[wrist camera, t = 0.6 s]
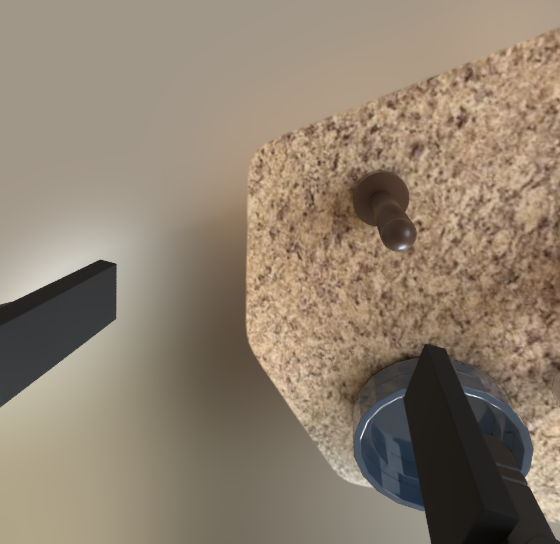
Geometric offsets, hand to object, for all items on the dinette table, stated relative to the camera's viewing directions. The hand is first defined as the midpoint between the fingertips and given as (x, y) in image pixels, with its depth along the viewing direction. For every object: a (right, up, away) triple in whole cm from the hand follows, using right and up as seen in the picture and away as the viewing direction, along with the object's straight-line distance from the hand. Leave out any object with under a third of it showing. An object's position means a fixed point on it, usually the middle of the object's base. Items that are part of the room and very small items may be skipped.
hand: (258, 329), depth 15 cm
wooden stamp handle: (+11, +10, +20) cm, 25 cm away
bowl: (+19, -15, +28) cm, 37 cm away
